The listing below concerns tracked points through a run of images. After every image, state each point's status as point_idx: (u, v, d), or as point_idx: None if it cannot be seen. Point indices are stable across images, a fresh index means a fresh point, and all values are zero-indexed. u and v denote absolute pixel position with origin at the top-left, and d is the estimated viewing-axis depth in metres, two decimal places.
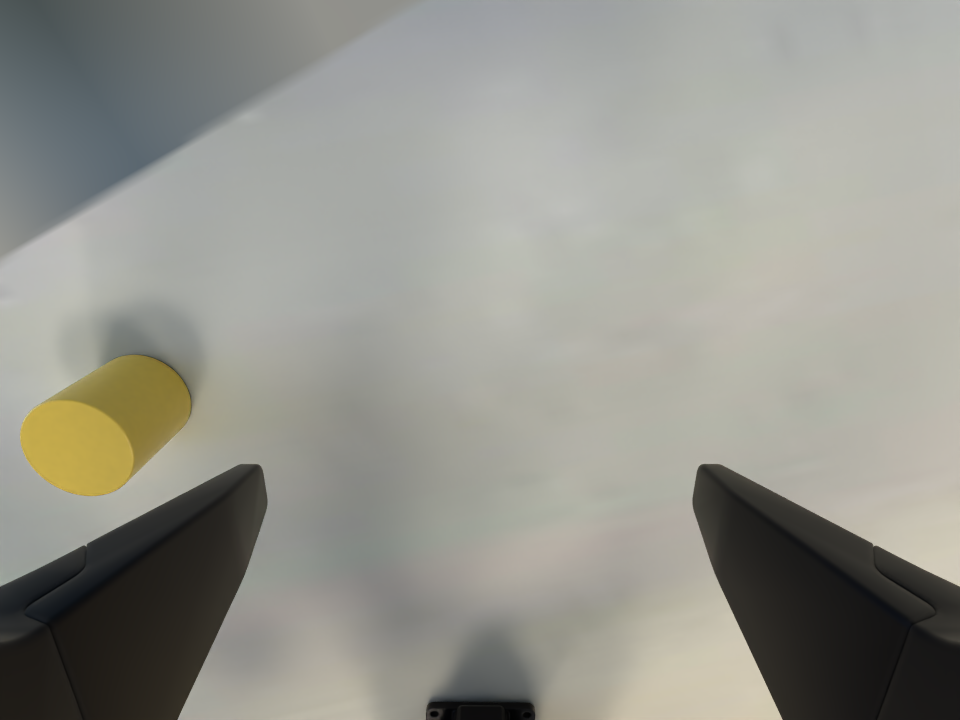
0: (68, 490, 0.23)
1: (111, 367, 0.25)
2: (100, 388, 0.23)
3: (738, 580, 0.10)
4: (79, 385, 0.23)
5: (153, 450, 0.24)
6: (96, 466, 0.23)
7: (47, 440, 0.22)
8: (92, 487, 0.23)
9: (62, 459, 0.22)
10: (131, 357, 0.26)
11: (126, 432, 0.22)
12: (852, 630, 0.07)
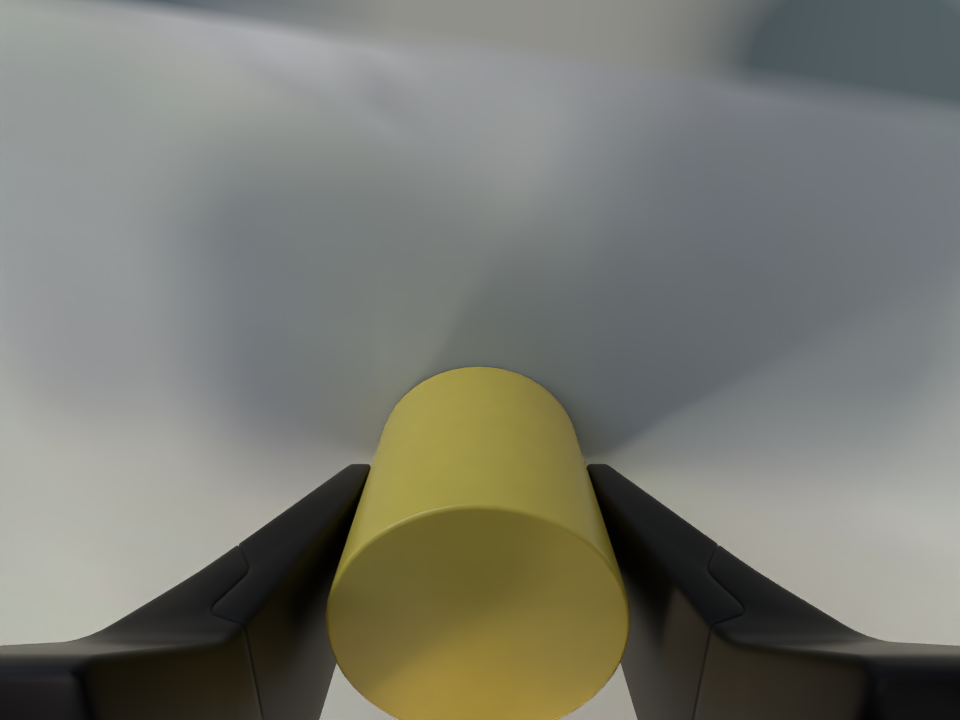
0: (361, 688, 0.08)
1: (542, 414, 0.10)
2: (587, 499, 0.09)
3: None
4: (546, 466, 0.09)
5: None
6: (482, 682, 0.08)
7: (432, 581, 0.08)
8: (423, 709, 0.09)
9: (421, 632, 0.08)
10: (542, 392, 0.12)
11: (621, 657, 0.08)
12: (677, 631, 0.07)
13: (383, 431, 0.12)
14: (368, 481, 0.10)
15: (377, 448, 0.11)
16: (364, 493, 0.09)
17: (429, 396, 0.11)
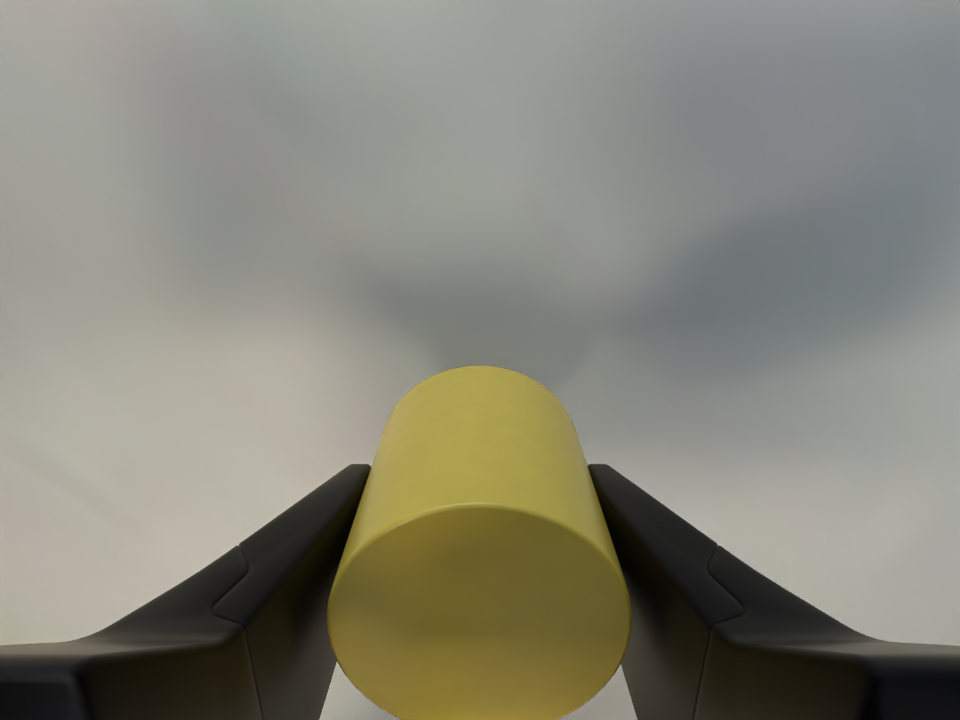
0: (362, 687, 0.08)
1: (543, 413, 0.10)
2: (589, 498, 0.09)
3: None
4: (547, 464, 0.09)
5: None
6: (483, 681, 0.08)
7: (433, 580, 0.08)
8: (423, 708, 0.09)
9: (423, 631, 0.08)
10: (543, 391, 0.12)
11: (622, 655, 0.08)
12: (677, 631, 0.07)
13: (384, 430, 0.12)
14: (369, 480, 0.10)
15: (378, 447, 0.11)
16: (365, 492, 0.09)
17: (430, 395, 0.11)
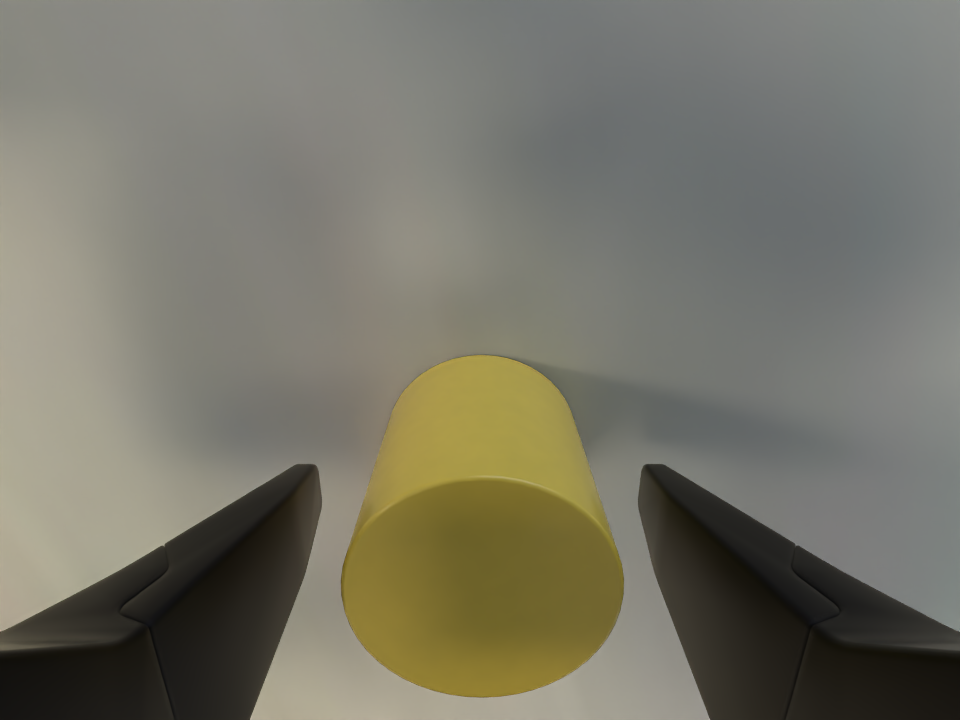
0: (373, 651, 0.09)
1: (542, 399, 0.11)
2: (584, 475, 0.09)
3: (673, 580, 0.10)
4: (545, 444, 0.09)
5: None
6: (486, 644, 0.09)
7: (440, 548, 0.08)
8: (430, 670, 0.09)
9: (430, 597, 0.09)
10: (542, 379, 0.12)
11: (615, 620, 0.09)
12: (765, 630, 0.07)
13: (391, 416, 0.12)
14: (378, 460, 0.10)
15: (385, 432, 0.12)
16: (375, 471, 0.10)
17: (436, 382, 0.11)
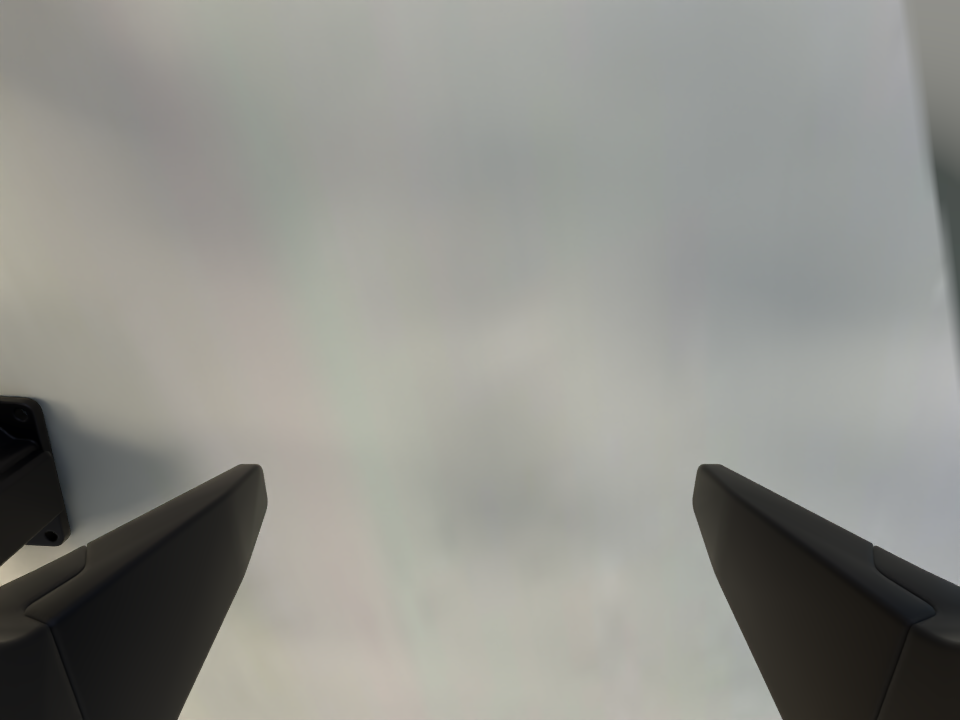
0: None
1: None
2: None
3: (738, 580, 0.10)
4: None
5: None
6: None
7: None
8: None
9: None
10: None
11: None
12: (852, 630, 0.07)
13: None
14: None
15: None
16: None
17: None
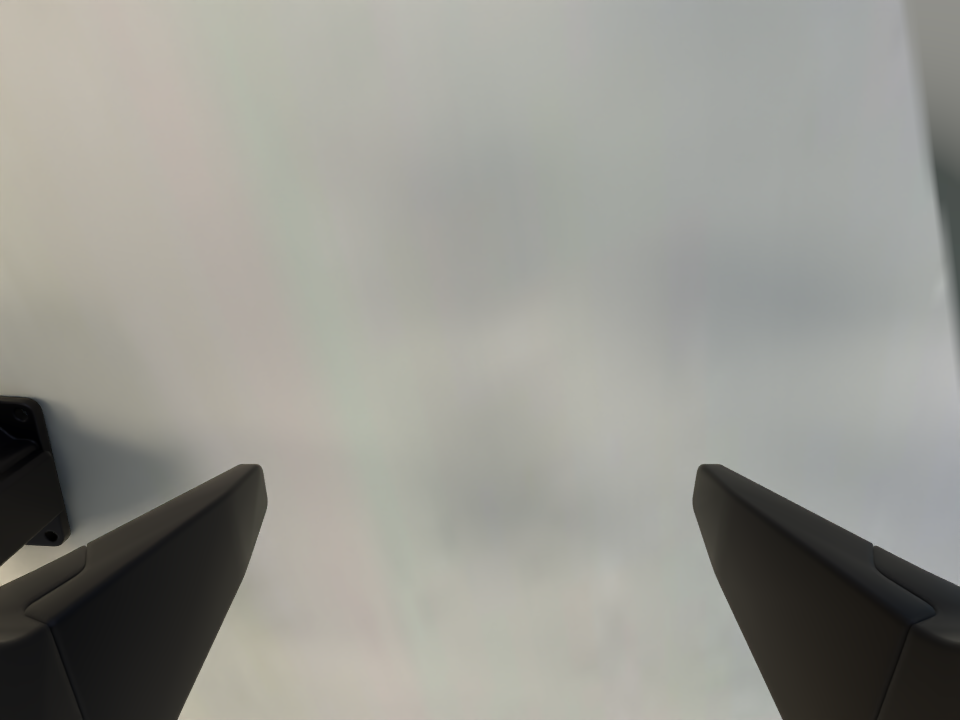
0: None
1: None
2: None
3: (738, 580, 0.10)
4: None
5: None
6: None
7: None
8: None
9: None
10: None
11: None
12: (852, 630, 0.07)
13: None
14: None
15: None
16: None
17: None
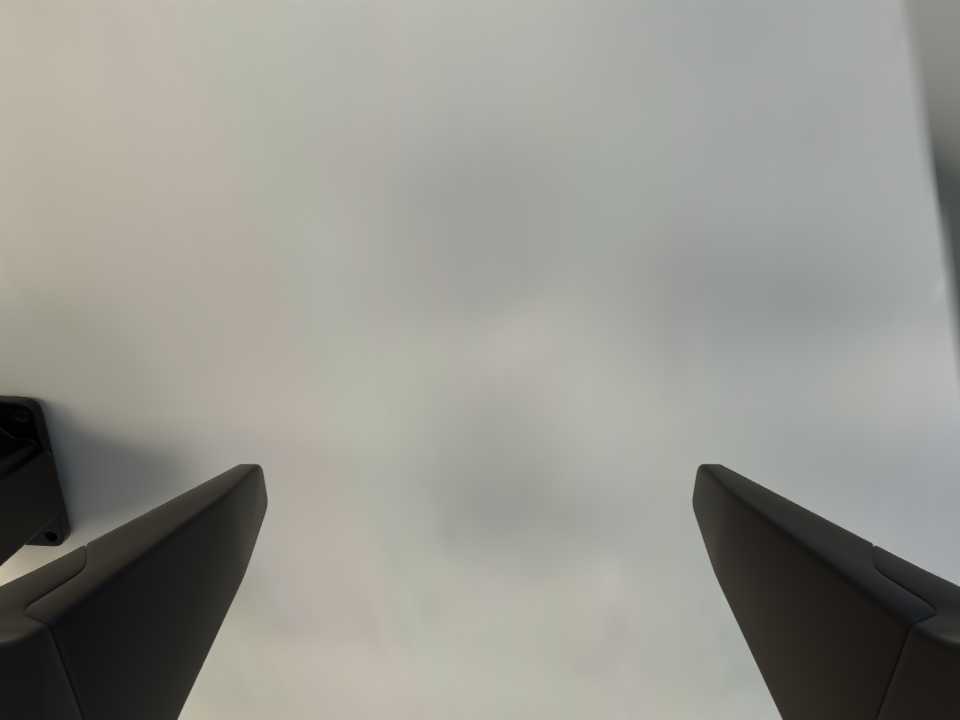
0: None
1: None
2: None
3: (738, 580, 0.10)
4: None
5: None
6: None
7: None
8: None
9: None
10: None
11: None
12: (852, 630, 0.07)
13: None
14: None
15: None
16: None
17: None
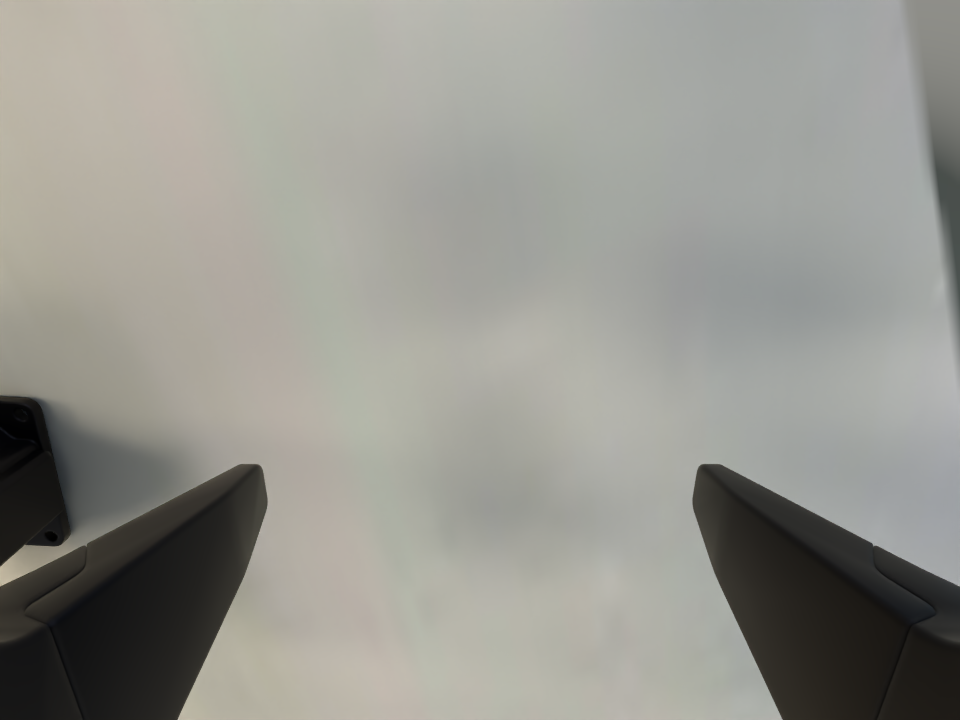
0: None
1: None
2: None
3: (738, 580, 0.10)
4: None
5: None
6: None
7: None
8: None
9: None
10: None
11: None
12: (852, 630, 0.07)
13: None
14: None
15: None
16: None
17: None
